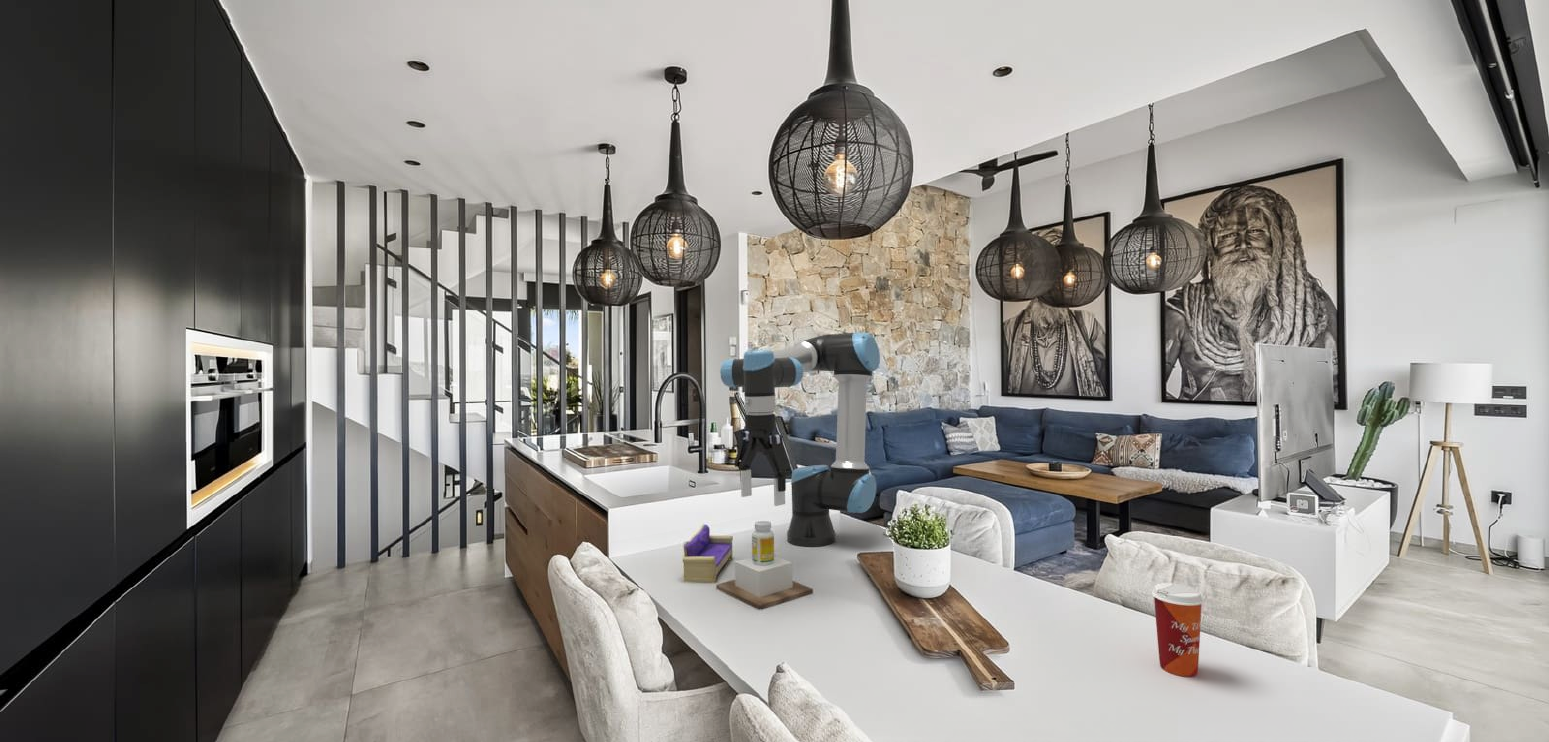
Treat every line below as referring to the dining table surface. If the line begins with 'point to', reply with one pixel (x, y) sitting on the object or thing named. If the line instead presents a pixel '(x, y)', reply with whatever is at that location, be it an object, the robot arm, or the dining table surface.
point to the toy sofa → (705, 555)
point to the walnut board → (767, 600)
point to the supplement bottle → (763, 544)
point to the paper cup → (1178, 627)
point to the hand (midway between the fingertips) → (762, 500)
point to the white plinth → (763, 576)
